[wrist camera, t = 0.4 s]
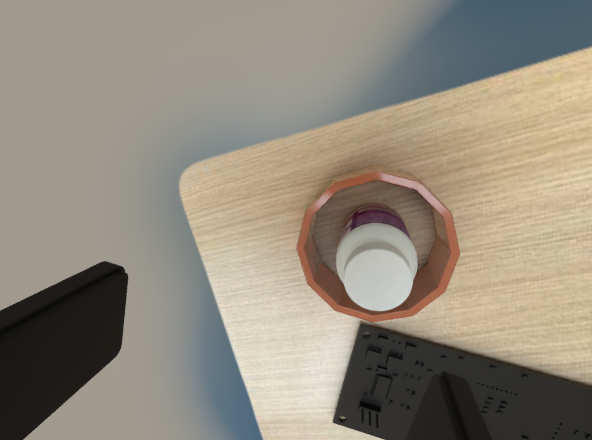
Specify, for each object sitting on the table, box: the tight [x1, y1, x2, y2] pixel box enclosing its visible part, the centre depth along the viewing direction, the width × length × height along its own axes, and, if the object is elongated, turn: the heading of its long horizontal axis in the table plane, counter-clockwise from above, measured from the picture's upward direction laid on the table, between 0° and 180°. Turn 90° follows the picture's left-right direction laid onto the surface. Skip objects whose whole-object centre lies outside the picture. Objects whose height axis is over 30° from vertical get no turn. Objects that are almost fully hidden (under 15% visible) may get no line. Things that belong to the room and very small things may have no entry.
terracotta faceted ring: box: [297, 166, 460, 322], centre depth 26 cm, size 11×11×4 cm
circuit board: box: [333, 323, 592, 440], centre depth 29 cm, size 25×14×3 cm, turn 79°
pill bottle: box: [336, 204, 418, 311], centre depth 24 cm, size 5×5×10 cm
